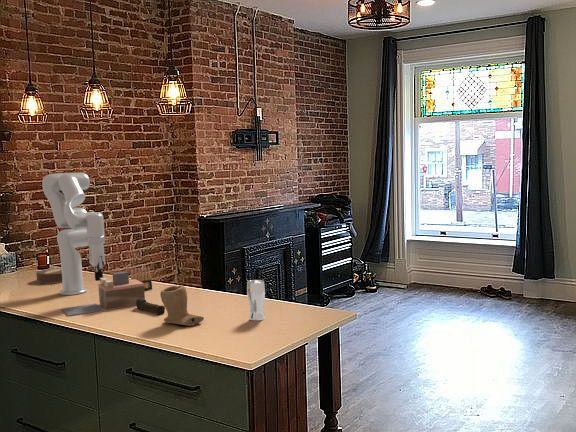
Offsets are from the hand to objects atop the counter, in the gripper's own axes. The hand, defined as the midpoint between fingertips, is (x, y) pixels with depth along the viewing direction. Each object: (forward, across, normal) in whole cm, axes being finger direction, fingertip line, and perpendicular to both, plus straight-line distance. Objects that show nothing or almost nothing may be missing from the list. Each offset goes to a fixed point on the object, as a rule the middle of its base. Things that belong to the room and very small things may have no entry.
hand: (99, 280), depth 289 cm
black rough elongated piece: (+10, +33, +11) cm, 36 cm away
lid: (+3, +12, +6) cm, 14 cm away
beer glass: (+10, +74, +41) cm, 85 cm away
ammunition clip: (+10, -9, +22) cm, 26 cm away
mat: (+10, +12, -11) cm, 19 cm away
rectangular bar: (+1, +12, 0) cm, 12 cm away
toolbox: (+10, +12, +6) cm, 17 cm away
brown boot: (+10, +61, +14) cm, 64 cm away
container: (+10, -69, -6) cm, 70 cm away
